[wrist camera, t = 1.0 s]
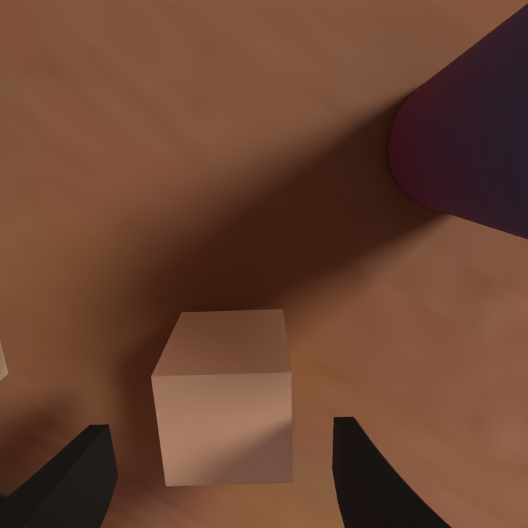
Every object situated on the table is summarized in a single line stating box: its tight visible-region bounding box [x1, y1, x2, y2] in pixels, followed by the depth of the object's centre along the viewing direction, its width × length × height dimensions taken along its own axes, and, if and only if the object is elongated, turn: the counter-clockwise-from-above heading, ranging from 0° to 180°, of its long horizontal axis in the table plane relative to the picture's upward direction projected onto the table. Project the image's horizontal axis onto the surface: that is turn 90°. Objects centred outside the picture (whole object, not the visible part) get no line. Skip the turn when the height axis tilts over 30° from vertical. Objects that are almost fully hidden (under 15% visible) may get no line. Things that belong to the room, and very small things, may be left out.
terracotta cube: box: [151, 309, 293, 486], centre depth 15 cm, size 4×4×5 cm
